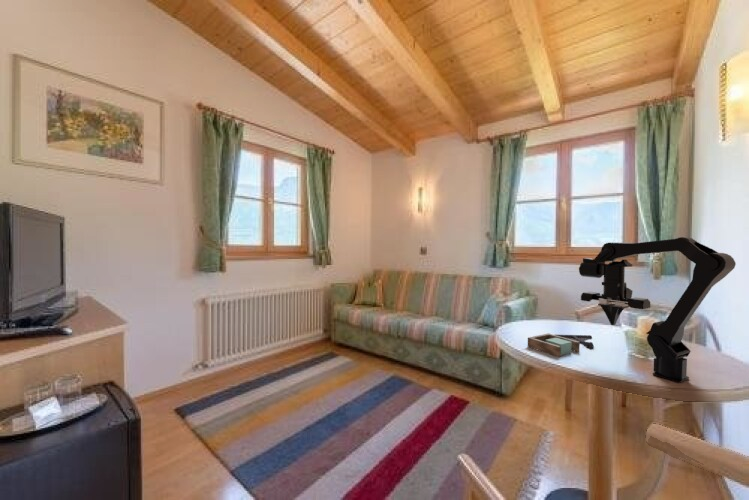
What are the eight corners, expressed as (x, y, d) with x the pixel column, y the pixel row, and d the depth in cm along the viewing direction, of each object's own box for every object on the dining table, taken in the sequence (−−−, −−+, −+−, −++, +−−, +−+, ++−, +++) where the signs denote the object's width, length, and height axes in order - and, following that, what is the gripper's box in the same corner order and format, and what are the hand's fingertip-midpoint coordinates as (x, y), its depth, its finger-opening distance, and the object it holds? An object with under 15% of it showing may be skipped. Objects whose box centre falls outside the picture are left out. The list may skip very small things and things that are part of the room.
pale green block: (571, 352, 120) (571, 341, 120) (560, 355, 117) (561, 344, 117) (555, 348, 125) (555, 337, 125) (545, 350, 122) (545, 339, 122)
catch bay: (579, 351, 121) (579, 341, 121) (558, 356, 115) (558, 346, 115) (548, 342, 132) (548, 333, 132) (527, 346, 126) (527, 337, 126)
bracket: (571, 349, 125) (572, 342, 124) (553, 337, 139) (554, 331, 139) (612, 351, 123) (612, 344, 123) (589, 339, 138) (589, 332, 138)
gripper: (658, 280, 108) (657, 328, 108) (596, 275, 124) (595, 317, 125) (642, 282, 102) (641, 332, 103) (580, 277, 118) (579, 320, 119)
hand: (613, 325), depth 112 cm, fingers closed
